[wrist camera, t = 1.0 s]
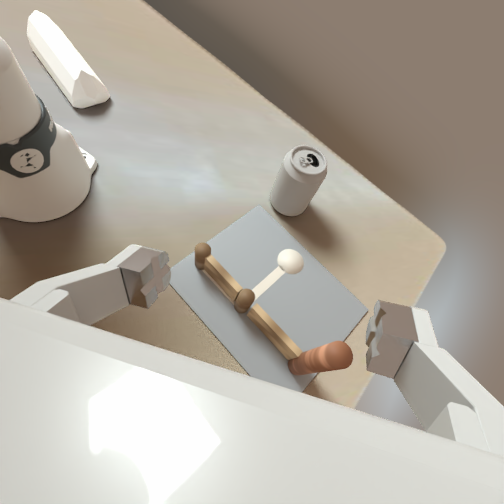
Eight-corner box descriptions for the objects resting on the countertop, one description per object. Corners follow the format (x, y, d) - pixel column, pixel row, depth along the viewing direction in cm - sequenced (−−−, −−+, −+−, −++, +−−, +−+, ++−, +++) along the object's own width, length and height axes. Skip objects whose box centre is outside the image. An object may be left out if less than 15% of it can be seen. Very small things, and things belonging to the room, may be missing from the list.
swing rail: (242, 319, 44) (261, 290, 31) (255, 307, 45) (278, 275, 32) (297, 379, 41) (342, 375, 29) (309, 365, 42) (357, 355, 30)
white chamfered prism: (120, 86, 56) (66, 17, 62) (82, 75, 50) (26, 1, 56) (110, 119, 60) (60, 52, 66) (74, 113, 54) (22, 41, 60)
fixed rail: (191, 262, 46) (191, 248, 42) (202, 253, 47) (204, 239, 43) (241, 316, 44) (246, 308, 40) (252, 306, 45) (258, 297, 41)
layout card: (162, 275, 45) (161, 274, 45) (258, 204, 54) (259, 204, 54) (283, 414, 39) (284, 414, 39) (367, 309, 49) (368, 309, 49)
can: (311, 214, 55) (339, 172, 45) (277, 222, 53) (298, 180, 43) (296, 184, 58) (319, 138, 48) (262, 190, 56) (279, 143, 45)
